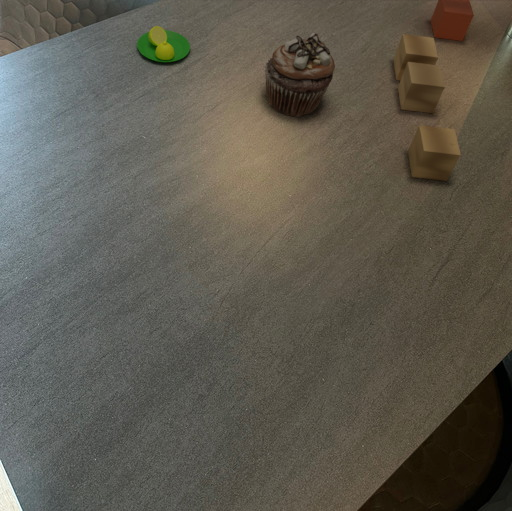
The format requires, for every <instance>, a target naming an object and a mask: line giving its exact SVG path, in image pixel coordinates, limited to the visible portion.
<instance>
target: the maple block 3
mask: <svg viewBox="0 0 512 511" xmlns="http://www.w3.org/2000/svg"><path fill="white" fill-rule="evenodd" d="M407 155H408V162H409V168H410V174H411V178H417V179H427V180H435V181H443V182H444V181H445V182H447V181H448V180H449V178H450V176H451V174H452V172H453V170H454V168H455V167H456V165H457V163H458V162H459V159H460V157H461V151H460V145H459V142H458V137H457V132H456V129H455V128H447V127H438V126H431V125H430V126H429V125H422V124H421V125H420V124H419V125H418V126H417V130H416V132H415V134H414V136H413V138H412V141H411V143H410V145H409V147H408V150H407Z"/></svg>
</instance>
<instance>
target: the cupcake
mask: <svg viewBox="0 0 512 511" xmlns="http://www.w3.org/2000/svg"><path fill="white" fill-rule="evenodd" d="M335 69H336V65H335V60H334V58H333V56H332V54H331V50H330V49H329V47H328V46H327V45H326V44H325V43H324V42H323V41H322V40H321V38H320V35H319V33H317V32H311V34H309V35H308V38H307V39H306V38H305V39H303V38H302V37H301V36H300V35H296V36H295V38H293V39H291V40H288V41H286V42H285V43H284V44H283V45H280V46H279V47H277V48H276V49H275V50H274V51H273V53H272V56H271V57H269V59H268V60H267V62H265V65H264V74H265V90H266V91H265V94H266V100H267V103H268V104H269V105H270V107H272V108H273V109H274V110H275V111H277V112H278V113H281V114H283V115H285V116H291V117H301V116H304V115H308V114H311V113H313V112H314V111H316V109H317V108H318V107H319V105H320V103H321V101H322V99H323V97H324V96H325V93H326V92H327V90H328V88H329V86H330V84H331V82H332V80H333V77H334V72H335Z"/></svg>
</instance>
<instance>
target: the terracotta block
mask: <svg viewBox="0 0 512 511" xmlns="http://www.w3.org/2000/svg"><path fill="white" fill-rule="evenodd" d="M474 16H475V14H474V11H473V8H472V5H471V1H470V0H437V2H436V5H435V8H434V10H433V13H432V16H431V18H430V24H431V28H432V34H433V38H434V39H435V38H437V39H444V40H450V41H451V40H452V41H457V42H458V41H460V42H463V41H464V38H465V36H466V34H467V32H468V30H469V27H470V25H471V23H472V21H473V19H474Z"/></svg>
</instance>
